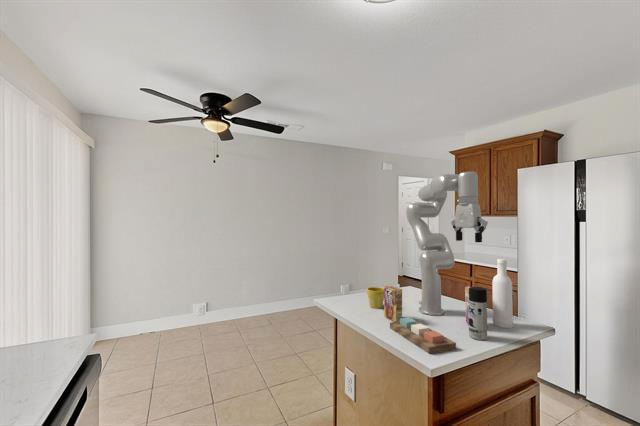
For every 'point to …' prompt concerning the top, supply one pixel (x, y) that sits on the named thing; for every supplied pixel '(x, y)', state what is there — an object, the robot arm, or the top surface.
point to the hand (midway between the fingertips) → (468, 241)
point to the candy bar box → (467, 303)
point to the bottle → (502, 297)
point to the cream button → (419, 329)
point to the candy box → (393, 303)
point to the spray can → (478, 313)
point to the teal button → (407, 322)
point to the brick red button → (433, 337)
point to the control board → (421, 341)
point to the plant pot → (375, 296)
